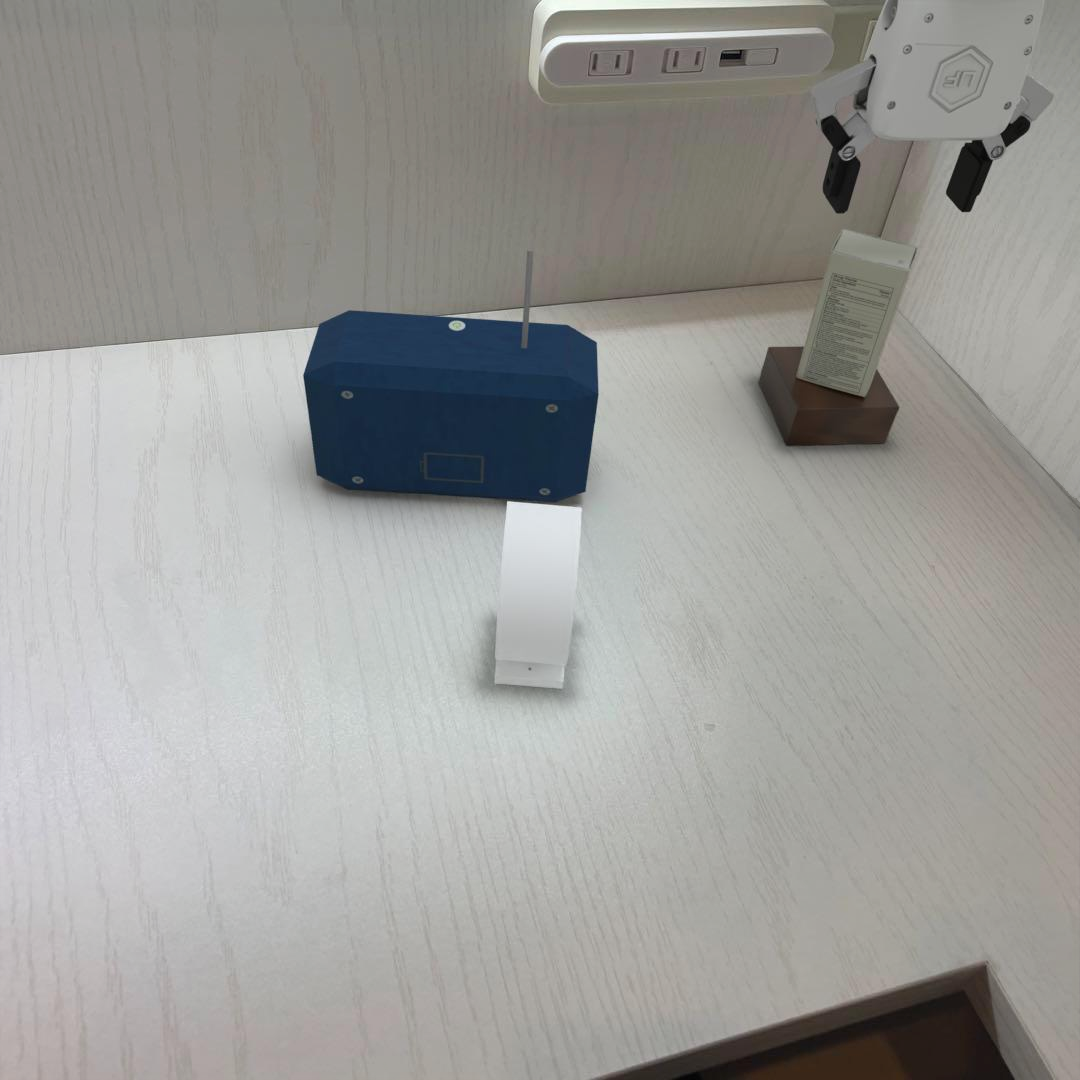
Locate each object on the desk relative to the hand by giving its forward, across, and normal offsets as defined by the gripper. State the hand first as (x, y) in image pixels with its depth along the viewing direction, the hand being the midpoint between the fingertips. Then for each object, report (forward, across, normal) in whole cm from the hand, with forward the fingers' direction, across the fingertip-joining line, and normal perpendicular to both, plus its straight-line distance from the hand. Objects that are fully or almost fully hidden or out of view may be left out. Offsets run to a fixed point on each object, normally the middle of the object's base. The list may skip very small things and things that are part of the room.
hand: (896, 204), depth 73 cm
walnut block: (+20, -1, 0) cm, 20 cm away
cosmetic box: (+16, 0, 0) cm, 16 cm away
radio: (+20, -34, -6) cm, 39 cm away
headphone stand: (+20, -30, -26) cm, 44 cm away
